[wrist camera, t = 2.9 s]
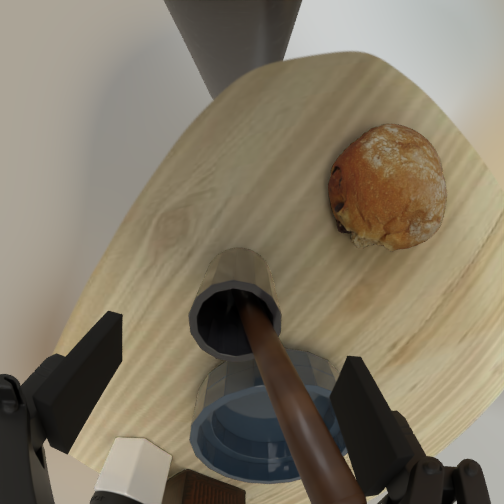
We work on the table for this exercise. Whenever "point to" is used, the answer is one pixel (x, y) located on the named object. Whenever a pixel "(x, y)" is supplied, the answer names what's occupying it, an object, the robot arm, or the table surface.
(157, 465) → the jar
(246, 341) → the holder
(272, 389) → the stick
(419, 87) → the table surface
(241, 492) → the manual coffee grinder
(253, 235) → the table surface
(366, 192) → the bread roll
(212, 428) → the bowl
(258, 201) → the table surface
